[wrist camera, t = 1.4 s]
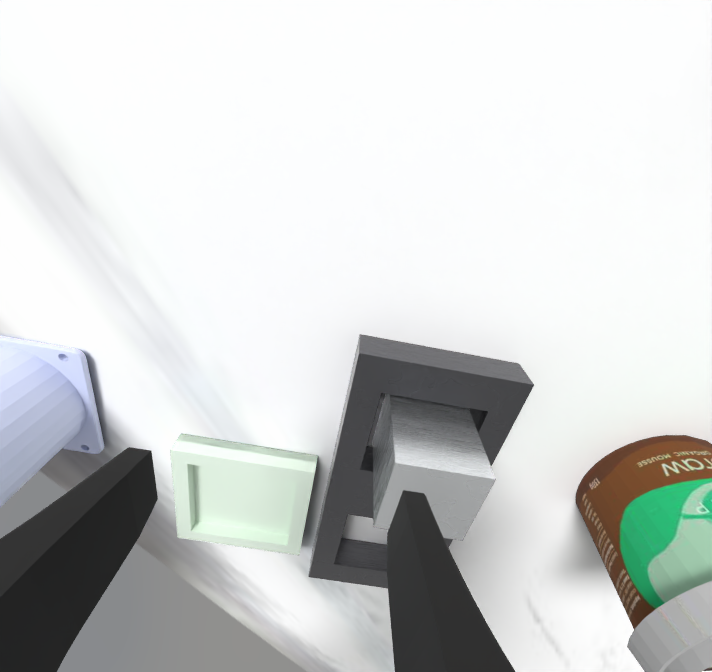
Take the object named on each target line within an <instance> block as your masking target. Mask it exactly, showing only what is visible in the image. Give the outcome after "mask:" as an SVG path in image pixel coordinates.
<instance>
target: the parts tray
mask: <svg viewBox="0 0 712 672" xmlns="http://www.w3.org/2000/svg"><path fill="white" fill-rule="evenodd" d="M170 454H171V466H172V478H173V489H174V501H175V513H176V525H177V537H178V538H183V539H190V540H197V541H204V542H211V543H217V544H224V545H231V546H238V547H245V548H252V549H258V550H265V551H272V552H279V553H286V554H293V555H299V553H300V548H301V543H302V538H303V532H304V527H305V522H306V517H307V512H308V506H309V501H310V496H311V491H312V486H313V480H314V475H315V469H316V464H317V458H318V456H315V455H309V454H303V453H297V452H291V451H285V450H278V449H272V448H266V447H260V446H254V445H248V444H242V443H235V442H229V441H223V440H217V439H211V438H205V437H199V436H192V435H186V434H181V435H180V436H179V437H178V439H177V440H176V442H175V443H174V445H173V446H172V448H171V449H170Z"/></svg>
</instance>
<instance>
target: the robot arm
mask: <svg viewBox="0 0 712 672" xmlns="http://www.w3.org/2000/svg"><path fill="white" fill-rule="evenodd" d="M65 355H66V356H65ZM61 449H67V450H73V451H79V452H86V453H92V454H99V453H100V452H101V451H102V450H103V449H104V442H103V437H102V432H101V427H100V422H99V417H98V412H97V408H96V403H95V398H94V393H93V388H92V383H91V378H90V373H89V369H88V364H87V359H86V356H85V354H84V353H83V352H82V351H81V350H79V349H76V348H70V347H64V346H58V345H53V344H47V343H41V342H35V341H30V340H24V339H18V338H12V337H7V336H1V335H0V507H1V506H3V505H4V504H5V503H6V502H7V501H8V500H9V499H10V498H11V497H12V496H13V495H14V494H15V493H16V492H17V491H18V490H19V489H20V488H21V487H22V486H23V485H24V484H25V483H27V482H28V481H29V480H30V479H31V478H32V477H33V476H34V475H35V474H36V473H37V472H38V471H39V470H40V469H41V468H42V467H43V466H44V465H45V464H46V463H47V462H49V461H50V460H51V459H52V458H53V457H54V456H55V455H56V454H57V453H58V452H59V451H60V450H61ZM157 499H158V498H157V491H156V483H155V475H154V468H153V460H152V453H151V451H149V450H143V449H136V448H130V447H129V448H127V449H126V450H124V451H123V452H122V453H120V454H119V455H118V456H116V457H115V458H113V459H112V460H111V461H109V462H108V463H107V464H105V465H104V466H103V467H101V468H100V469H99V470H97V471H96V472H95V473H93V474H92V475H91V476H89V477H88V478H86V479H85V480H84V481H82V482H81V483H80V484H78V485H77V486H76V487H74V488H73V489H71V490H70V491H69V492H67V493H66V494H65V495H63V496H62V497H60V498H59V499H58V500H56V501H55V502H53V503H52V504H51V505H49V506H48V507H46V508H45V509H43V510H42V511H41V512H39V513H38V514H36V515H35V516H34V517H32V518H31V519H29V520H28V521H26V522H25V523H24V524H22V525H21V526H19V527H17V528H16V529H14V530H13V531H11V532H10V533H8V534H7V535H5V536H4V537H3V538H1V539H0V672H57V670H58V668H59V666H60V664H61V663H62V661H63V659H64V657H65V655H66V653H67V652H68V650H69V648H70V647H71V645H72V643H73V641H74V640H75V638H76V636H77V635H78V633H79V631H80V630H81V628H82V627H83V625H84V623H85V622H86V620H87V619H88V617H89V616H90V614H91V612H92V611H93V609H94V608H95V606H96V605H97V603H98V601H99V600H100V598H101V597H102V595H103V593H104V592H105V590H106V589H107V587H108V586H109V584H110V582H111V581H112V579H113V578H114V576H115V574H116V573H117V571H118V570H119V568H120V567H121V565H122V563H123V562H124V560H125V559H126V557H127V555H128V554H129V552H130V551H131V549H132V547H133V546H134V544H135V542H136V541H137V539H138V538H139V536H140V534H141V532H142V530H143V528H144V526H145V524H146V522H147V520H148V518H149V516H150V514H151V512H152V510H153V507H154V505H155V503H156V501H157ZM387 580H388V592H389V605H390V617H391V629H392V641H393V653H394V665H395V672H515V670H514V669H513V667H512V665H511V664H510V662H509V661H508V659H507V657H506V656H505V654H504V652H503V651H502V649H501V647H500V646H499V644H498V642H497V640H496V639H495V637H494V635H493V633H492V632H491V630H490V628H489V626H488V625H487V623H486V621H485V619H484V617H483V616H482V614H481V612H480V610H479V608H478V606H477V604H476V603H475V601H474V599H473V597H472V595H471V593H470V591H469V589H468V587H467V585H466V583H465V581H464V579H463V577H462V575H461V573H460V571H459V569H458V567H457V565H456V563H455V561H454V559H453V557H452V555H451V553H450V551H449V548H448V546H447V544H446V542H445V540H444V537H443V535H442V533H441V531H440V529H439V526H438V524H437V522H436V519H435V517H434V515H433V512H432V510H431V507H430V505H429V502H428V500H427V497H426V496H425V494H424V493H419V492H413V491H406V490H403V492H402V495H401V497H400V500H399V503H398V506H397V508H396V511H395V514H394V517H393V519H392V522H391V525H390V528H389V531H388V536H387Z"/></svg>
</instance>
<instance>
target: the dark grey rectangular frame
mask: <svg viewBox="0 0 712 672" xmlns="http://www.w3.org/2000/svg"><path fill="white" fill-rule="evenodd" d="M533 386H534V384H533V383H532V381H531V380H530V379H529V377H528V376H527V374H526V373H525V372H524V370H523V369H522V367H521V366H520V365H519V364H518V363H512V362H507V361H501V360H496V359H491V358H485V357H480V356H474V355H469V354H464V353H458V352H453V351H447V350H442V349H436V348H431V347H426V346H420V345H415V344H409V343H404V342H398V341H393V340H388V339H382V338H377V337H371V336H366V335H360V336H359V341H358V345H357V350H356V354H355V359H354V363H353V368H352V373H351V377H350V382H349V386H348V391H347V395H346V400H345V404H344V409H343V414H342V418H341V423H340V427H339V432H338V436H337V441H336V445H335V450H334V454H333V459H332V464H331V468H330V473H329V477H328V482H327V486H326V491H325V495H324V500H323V504H322V509H321V514H320V518H319V523H318V527H317V532H316V536H315V541H314V545H313V550H312V557H311V564H310V571H309V577H313V578H320V579H327V580H334V581H341V582H348V583H355V584H362V585H369V586H376V587H383V588H388V580H387V545H383V544H376V543H370V542H363V541H356V540H350V539H343V538H341V537H342V533H343V529H344V526H345V522H346V519H347V515H348V514H350V515H357V516H363V517H370V518H374V513H373V447H371V446H367V443H368V439H369V436H370V432H371V429H372V425H373V421H374V418H375V414H376V411H377V407H378V403H379V400H380V396H381V393H386V394H391V395H397V396H403V397H409V398H414V399H420V400H426V401H431V402H437V403H443V404H449V405H454V406H460V407H466V408H469V411H470V414H471V416H472V419H473V421H474V424H475V427H476V429H477V432H478V434H479V437H480V440H481V442H482V445H483V447H484V450H485V452H486V455H487V458H488V460H489V463H490V465H491V466H492V464H493V462H494V460H495V458H496V456H497V454H498V452H499V451H500V449H501V447H502V445H503V443H504V441H505V439H506V437H507V435H508V433H509V432H510V430H511V428H512V426H513V424H514V422H515V420H516V418H517V416H518V414H519V413H520V411H521V409H522V407H523V405H524V403H525V401H526V399H527V397H528V395H529V394H530V392H531V390H532V388H533ZM444 540H445V542H446V544H447V546H448V547H449V546H450V544H451V542H452V540H453V539H448V538H444Z"/></svg>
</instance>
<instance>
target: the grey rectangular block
mask: <svg viewBox="0 0 712 672" xmlns="http://www.w3.org/2000/svg"><path fill="white" fill-rule="evenodd" d="M495 480H496V478H495V476H494V473H493V470H492V468H491V465H490V463H489V460H488V458H487V455H486V452H485V450H484V447H483V445H482V442H481V440H480V437H479V434H478V432H477V429H476V427H475V424H474V421H473V419H472V416H471V414H470V411H469V409H468V408H466V407H460V406H454V405H449V404H443V403H437V402H431V401H426V400H420V399H414V398H409V397H403V396H397V395H391V394H385V397H384V401H383V404H382V408H381V411H380V415H379V418H378V422H377V425H376V429H375V432H374V436H373V513H374V527H377V528H383V529H389V528H390V525H391V522H392V519H393V517H394V514H395V511H396V508H397V506H398V503H399V500H400V497H401V495H402V492H403V490H406V491H413V492H419V493H424V494H425V496H426V497H427V500H428V502H429V505H430V507H431V510H432V512H433V515H434V517H435V519H436V522H437V524H438V526H439V529H440V531H441V533H442V535H443V537H444V538H448V539H455V540H463V538H464V537H465V535H466V533H467V531H468V529H469V528H470V526H471V524H472V522H473V520H474V518H475V517H476V515H477V513H478V511H479V509H480V507H481V506H482V504H483V502H484V500H485V498H486V497H487V495H488V493H489V491H490V489H491V487H492V486H493V484H494V482H495Z"/></svg>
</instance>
